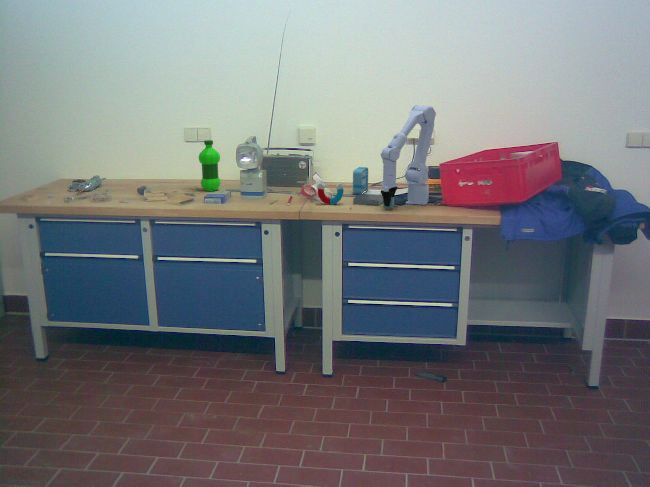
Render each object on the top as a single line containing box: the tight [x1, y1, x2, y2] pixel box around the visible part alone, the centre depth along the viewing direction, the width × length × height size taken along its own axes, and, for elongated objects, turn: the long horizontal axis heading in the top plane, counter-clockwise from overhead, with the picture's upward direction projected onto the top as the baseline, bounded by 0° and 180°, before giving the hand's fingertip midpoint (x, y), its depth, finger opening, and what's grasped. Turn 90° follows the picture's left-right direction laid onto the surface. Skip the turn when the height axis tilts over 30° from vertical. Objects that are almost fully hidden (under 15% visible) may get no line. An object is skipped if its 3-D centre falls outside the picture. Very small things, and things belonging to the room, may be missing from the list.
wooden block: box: [382, 196, 395, 210], centre depth 292 cm, size 4×4×4 cm
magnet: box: [317, 181, 344, 206], centre depth 298 cm, size 12×3×10 cm, turn 86°
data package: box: [352, 166, 369, 195], centre depth 323 cm, size 12×4×12 cm, turn 161°
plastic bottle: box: [198, 139, 222, 192], centre depth 327 cm, size 10×10×25 cm
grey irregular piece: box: [67, 175, 107, 195], centre depth 332 cm, size 6×28×16 cm
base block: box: [352, 193, 384, 207], centre depth 303 cm, size 12×12×2 cm
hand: (388, 204), depth 293 cm, fingers open, 7 cm apart
